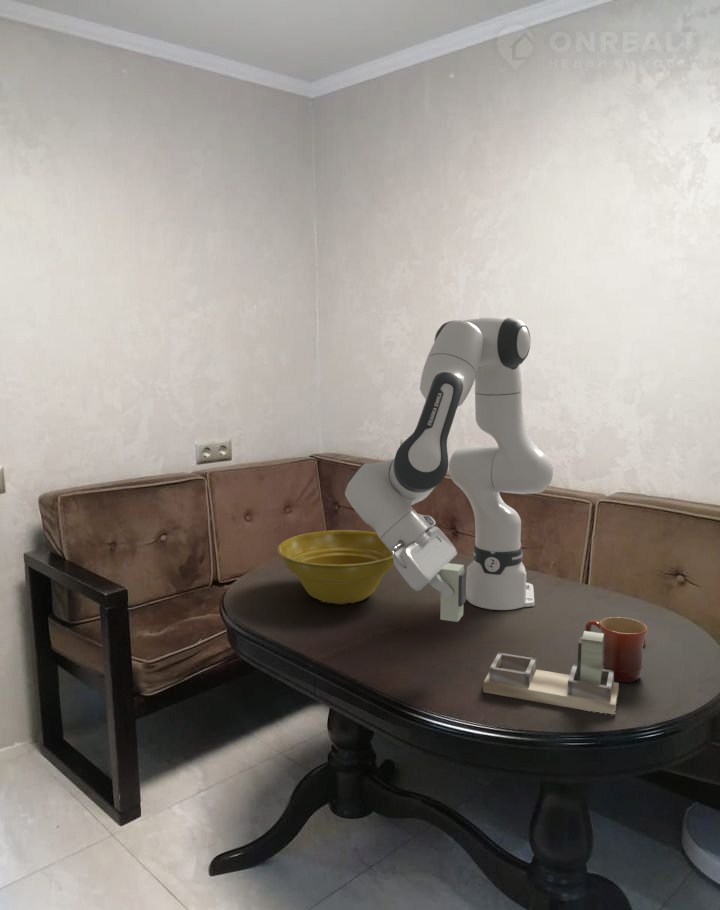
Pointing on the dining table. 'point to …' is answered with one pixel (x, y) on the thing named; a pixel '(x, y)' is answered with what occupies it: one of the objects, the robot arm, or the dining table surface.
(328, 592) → the planter bowl
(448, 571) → the block
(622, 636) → the mug
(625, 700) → the dining table surface
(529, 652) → the dining table surface
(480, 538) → the robot arm
